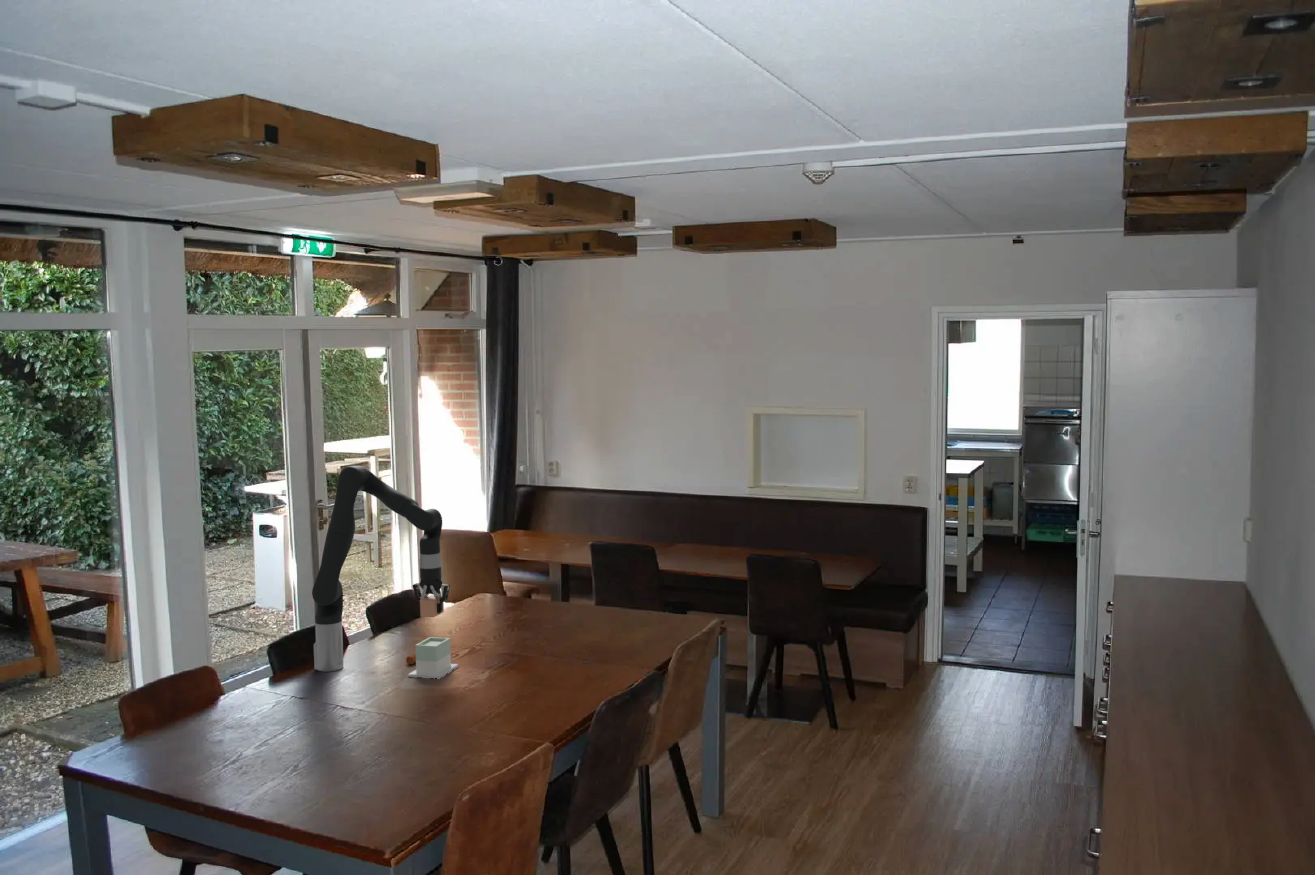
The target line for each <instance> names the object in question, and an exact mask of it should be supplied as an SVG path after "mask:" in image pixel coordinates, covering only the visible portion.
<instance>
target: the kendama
mask: <svg viewBox="0 0 1315 875" xmlns="http://www.w3.org/2000/svg"><path fill="white" fill-rule="evenodd" d="M405 662H406V664H407V665H409V664H412V665H414V664H416V653H414V654H412V655H409V656H407V657H406V658H405Z"/></svg>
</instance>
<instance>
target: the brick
mask: <svg viewBox="0 0 1315 875" xmlns="http://www.w3.org/2000/svg"><path fill="white" fill-rule="evenodd" d="M419 608H420V609H419V610H420V611H419V612H420V613H419V616H420V618H432V619H433V618H436V617H438V616H439V615H441V614H443V613H444V612H445V611H444V609H445V607H444V603H443V611H442V612H441V613H440V614H438V613H437V599H436V598H435V597H434V595H433V594H429V595H428V597H426V598H423V599H421V600H420V601H419Z"/></svg>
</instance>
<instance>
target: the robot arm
mask: <svg viewBox="0 0 1315 875" xmlns="http://www.w3.org/2000/svg"><path fill="white" fill-rule="evenodd" d="M336 484H337V485H336V493H335V498H334V504H333V508H332V512H331V517H330V521H329V524H328V528H327V532H326V536H325V542H324V546H323V549H322V550H323V551H322V557H321V562H320V563H321V564H320V567H319V570H318V572H317V576H316V579H315V582H314V583H313V586H312V588H311V589H312V590H311V595H312V599H313V601H314V603H315V604H316V605H317V606H316V611H315V615H314V623H315V624H314V625H315V642H314V643H313V657H314V658H313V659H314V660H313V661H314V662H313V664H314V665H313V666H314V670H317V671H319V672H327V673H328V672H335V671H339V670H341V669H344V649H343V648H344V642H343V639H344V638H343V616H342V615H343V611H344V600H343V599H344V591H343V589H344V588H343V585H342V582H341V580H340V575H341V571H342V568H343V566H344V563H345V561H346V560H347V557H348V554H349V553H350V550H351V548H352V544H353V540H354V535H355V532H356V520H355V513H354V507H355V503H356V500H357V496H358V493H359V492H360V491H361V492H363V493H366V494H369V495H371V496H373V497H375V498H376V499H378V500H379V501H380V502H382V504H383V505H385V507H386V508H387V509H389V510H391V511H393V512H395V514H397V515H399V516H400V517H403V518H405V519H406V520H407V521H408V522H409V523H410V524H412V525H413V526H414V527H415V528H417V529H418V530H420V531H423V534H422V537H421V538H420V539H419V579H420V581H419V582H416V583H414V584H412V586H411V587H412V590H413V593H414V597H415V601H416V602H417V601H418V602H420V600H421V599H423V598H426V597H428V596H430V595H434V597H435V598H436V599H437V613H438V614H439V615H441V614H442V613H441V612H442V611H443V604H444V602H446V601H447V600H448V598H449V595H450V588H451V584H445V583H443V581H442V579H443V578H442V577H443V575H442V558H441V557H442V556H441V543H440V539H441V535H442V529H443V517H442V514H441V513H440V511H439V510H438V509H436V508H429V509H426V510H425V509H423V508H422V507H420V506H419V503H418V501H416V500H415V499H413V498H411V497H410V496H408V495H406V494H404V493H402V492H400V491H399V490H397V489H395V488H394V487H392V486H391V485H389V484H387V483H386V482H385V481H383V480H382V479H380V478H379V477H378V476H376V475H375V474H374V473H373V472H371V471H370V470H369V469H368V468H367V467H365V466H362V465H348V466H345V467H344V468H343V469H342V470H341V471H340V472H339V474H338V478H337V483H336ZM441 589H442V592H441ZM421 590H422V591H421ZM421 592H422V593H421ZM440 613H441V614H440Z"/></svg>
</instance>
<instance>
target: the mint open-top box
mask: <svg viewBox="0 0 1315 875" xmlns="http://www.w3.org/2000/svg"><path fill="white" fill-rule="evenodd" d="M414 647H415V654H416V662H415V669H414V670H413V671H411V672H409V673H408V678H417V677H422V678H421V679H430V678H434V679H435V678H437V679H435V680H441V679H442V678H443V677H445V676H446V674H447V673H448V674H449V673H451V672H453V671H454V670H456V669H457V668H459V663H451V662H452V659H451V658H452V657H451V656H452V655H451V638H450V637H437V636H434V637H433V636H429V637H428V638H425V639H423V640H422V641H420V642H418V643H416V644H415V646H414ZM453 669H454V670H453ZM452 670H453V671H452ZM448 674H447V675H448ZM441 677H442V678H441ZM440 678H441V679H440ZM434 679H433V680H434Z"/></svg>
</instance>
